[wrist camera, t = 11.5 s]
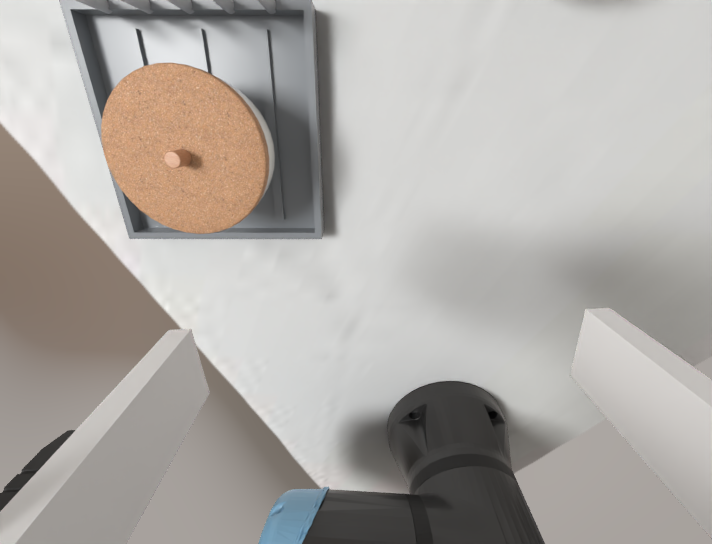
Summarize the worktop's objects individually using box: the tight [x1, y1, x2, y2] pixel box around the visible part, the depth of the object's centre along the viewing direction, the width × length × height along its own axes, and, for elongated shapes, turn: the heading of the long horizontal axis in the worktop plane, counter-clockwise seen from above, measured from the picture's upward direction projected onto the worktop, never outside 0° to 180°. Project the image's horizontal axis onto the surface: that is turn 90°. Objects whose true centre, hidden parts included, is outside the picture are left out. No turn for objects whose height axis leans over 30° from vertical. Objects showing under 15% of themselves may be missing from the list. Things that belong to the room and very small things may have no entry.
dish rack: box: [59, 0, 324, 239], centre depth 26 cm, size 18×18×9 cm
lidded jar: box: [101, 63, 275, 234], centre depth 25 cm, size 11×11×9 cm
